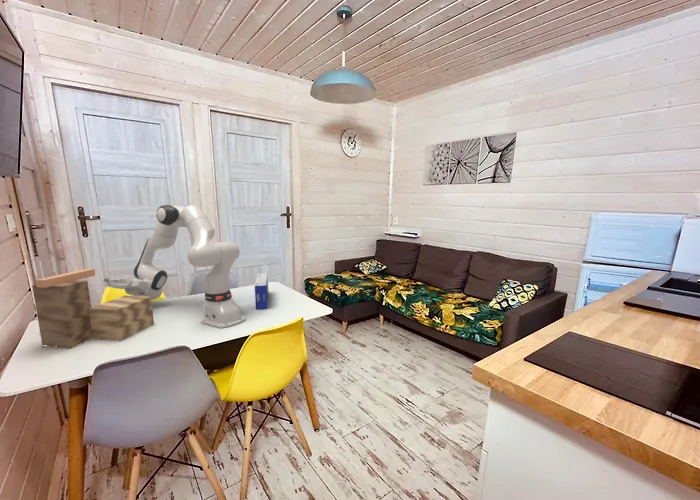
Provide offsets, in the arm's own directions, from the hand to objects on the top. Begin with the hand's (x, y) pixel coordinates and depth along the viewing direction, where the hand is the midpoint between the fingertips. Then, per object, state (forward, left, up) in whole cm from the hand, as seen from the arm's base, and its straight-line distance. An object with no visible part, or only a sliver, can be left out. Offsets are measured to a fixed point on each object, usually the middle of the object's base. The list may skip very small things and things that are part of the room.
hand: (112, 280), depth 147 cm
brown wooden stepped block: (-13, +9, -21) cm, 27 cm away
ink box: (-30, -64, -22) cm, 74 cm away
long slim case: (-10, +17, +5) cm, 20 cm away
